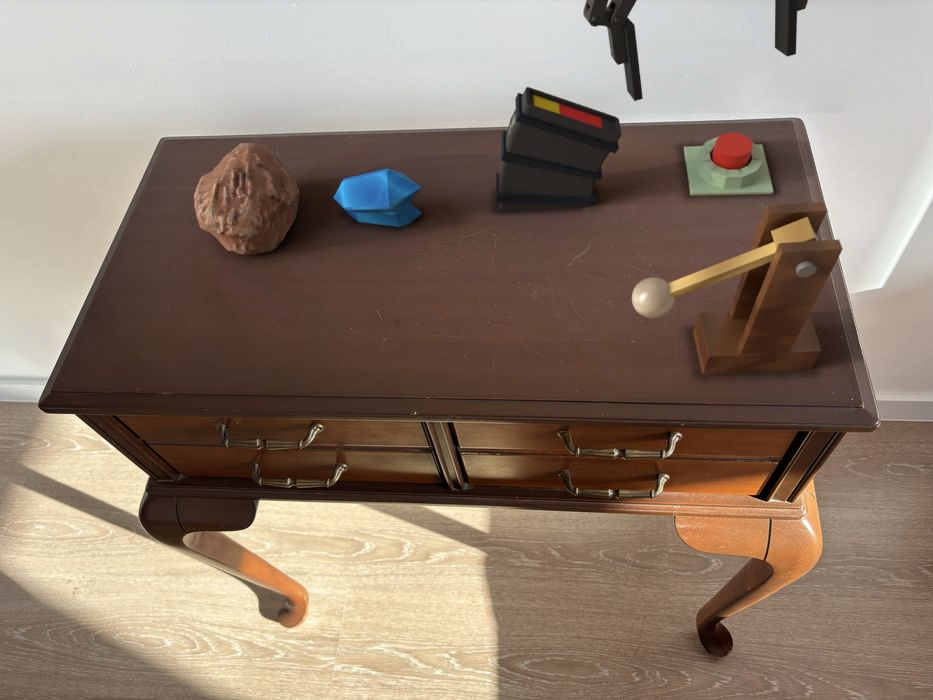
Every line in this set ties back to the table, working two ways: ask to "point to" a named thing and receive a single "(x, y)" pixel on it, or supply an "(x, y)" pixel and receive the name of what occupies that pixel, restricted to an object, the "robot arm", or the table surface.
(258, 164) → the decorative rock
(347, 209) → the crystal
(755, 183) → the button box
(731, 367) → the switch bracket
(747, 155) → the red button
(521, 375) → the table surface
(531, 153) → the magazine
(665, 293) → the switch lever
